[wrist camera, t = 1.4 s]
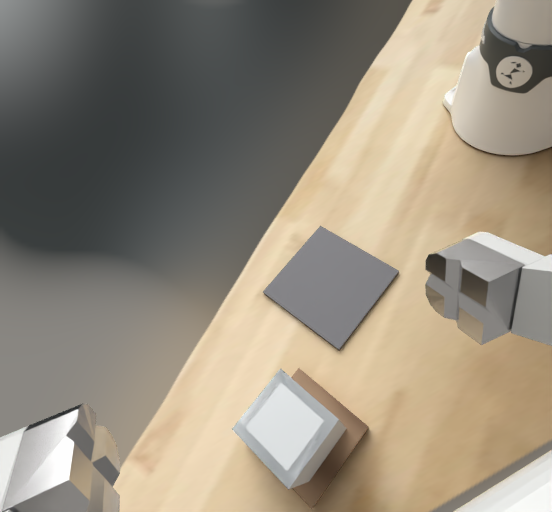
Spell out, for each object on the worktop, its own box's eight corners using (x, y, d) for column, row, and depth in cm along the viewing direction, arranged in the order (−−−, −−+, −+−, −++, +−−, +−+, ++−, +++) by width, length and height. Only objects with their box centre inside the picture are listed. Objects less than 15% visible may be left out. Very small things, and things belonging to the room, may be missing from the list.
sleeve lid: (300, 388, 38) (280, 368, 30) (346, 428, 36) (338, 419, 27) (264, 435, 37) (231, 428, 28) (308, 481, 34) (288, 489, 26)
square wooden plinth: (301, 370, 41) (291, 359, 36) (368, 427, 36) (368, 423, 32) (248, 437, 39) (231, 435, 34) (313, 506, 34) (304, 514, 30)
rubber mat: (320, 227, 49) (320, 225, 49) (398, 272, 44) (398, 270, 43) (263, 293, 46) (263, 291, 46) (339, 350, 41) (338, 349, 40)
